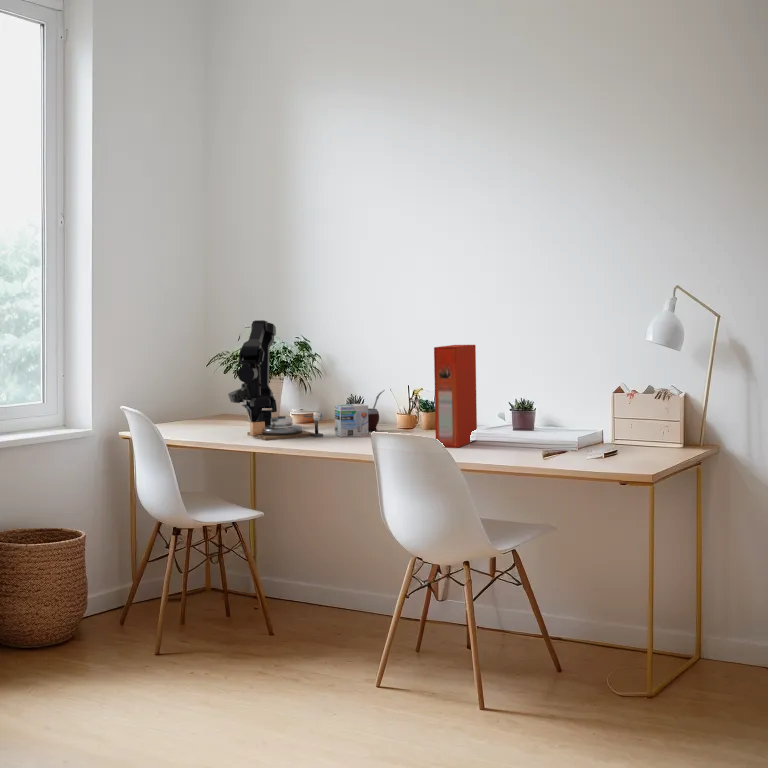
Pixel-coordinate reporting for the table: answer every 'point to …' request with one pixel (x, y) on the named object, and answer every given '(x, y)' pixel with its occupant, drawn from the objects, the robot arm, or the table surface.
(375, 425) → the mate gourd
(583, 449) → the table surface
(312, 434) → the stand
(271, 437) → the plinth
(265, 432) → the turntable
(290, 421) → the cover
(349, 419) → the light bulb box
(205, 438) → the table surface
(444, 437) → the file binder
